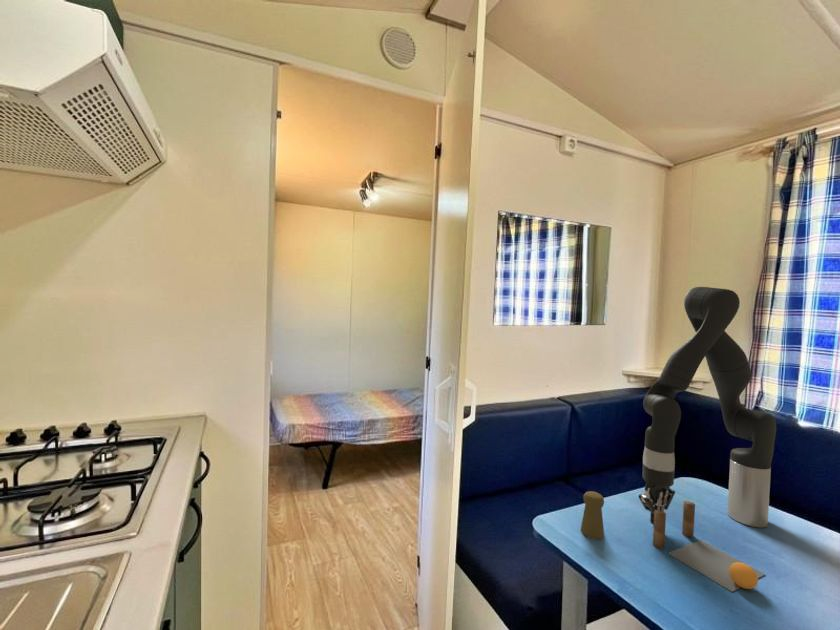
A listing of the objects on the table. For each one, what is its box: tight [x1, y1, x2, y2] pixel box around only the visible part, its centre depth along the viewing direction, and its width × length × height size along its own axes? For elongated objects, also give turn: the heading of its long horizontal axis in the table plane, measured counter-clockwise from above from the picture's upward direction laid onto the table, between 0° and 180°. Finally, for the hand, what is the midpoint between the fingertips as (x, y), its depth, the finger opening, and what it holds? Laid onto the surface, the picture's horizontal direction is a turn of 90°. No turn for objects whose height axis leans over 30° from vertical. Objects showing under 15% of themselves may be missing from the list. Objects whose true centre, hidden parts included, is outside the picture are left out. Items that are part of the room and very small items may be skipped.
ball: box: [729, 562, 759, 590], centre depth 86 cm, size 5×5×5 cm
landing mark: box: [668, 539, 766, 593], centre depth 93 cm, size 14×14×1 cm
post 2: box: [681, 500, 696, 539], centre depth 105 cm, size 3×3×9 cm
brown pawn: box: [580, 490, 605, 540], centre depth 104 cm, size 6×6×11 cm
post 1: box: [652, 510, 667, 550], centre depth 99 cm, size 3×3×9 cm
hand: (655, 524), depth 107 cm, fingers closed
